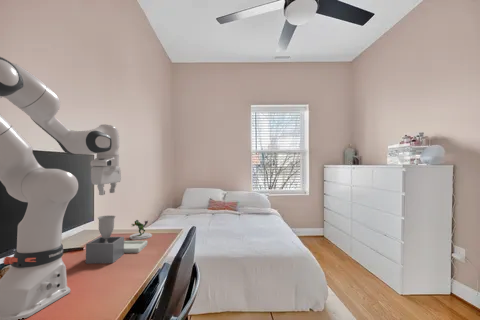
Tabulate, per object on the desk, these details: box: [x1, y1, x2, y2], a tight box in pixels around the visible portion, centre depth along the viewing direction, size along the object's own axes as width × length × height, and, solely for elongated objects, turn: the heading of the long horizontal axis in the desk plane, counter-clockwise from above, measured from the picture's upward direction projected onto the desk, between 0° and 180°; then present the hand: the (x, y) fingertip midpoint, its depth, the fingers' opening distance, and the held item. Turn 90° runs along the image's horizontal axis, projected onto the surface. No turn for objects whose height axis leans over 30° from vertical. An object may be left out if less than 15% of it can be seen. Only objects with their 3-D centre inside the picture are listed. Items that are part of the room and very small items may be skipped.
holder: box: [85, 236, 125, 264], centre depth 111 cm, size 11×11×8 cm
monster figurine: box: [129, 219, 153, 241], centre depth 147 cm, size 12×12×10 cm
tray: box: [124, 240, 148, 254], centre depth 125 cm, size 13×13×2 cm
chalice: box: [97, 215, 116, 243], centre depth 111 cm, size 7×7×18 cm
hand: (107, 193), depth 112 cm, fingers open, 8 cm apart
